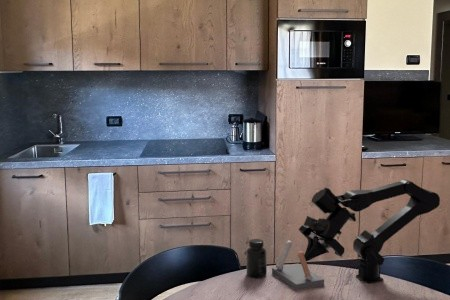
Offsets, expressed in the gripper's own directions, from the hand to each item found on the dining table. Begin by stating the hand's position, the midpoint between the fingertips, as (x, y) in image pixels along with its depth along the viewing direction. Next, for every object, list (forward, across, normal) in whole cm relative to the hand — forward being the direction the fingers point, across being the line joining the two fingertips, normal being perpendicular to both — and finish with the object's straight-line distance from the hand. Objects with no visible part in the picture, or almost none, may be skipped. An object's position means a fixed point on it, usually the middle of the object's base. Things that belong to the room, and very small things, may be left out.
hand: (304, 260), depth 146 cm
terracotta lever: (+3, 0, +5) cm, 6 cm away
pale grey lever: (+6, -11, +2) cm, 13 cm away
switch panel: (+5, -6, +7) cm, 11 cm away
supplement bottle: (+13, -15, -1) cm, 20 cm away
